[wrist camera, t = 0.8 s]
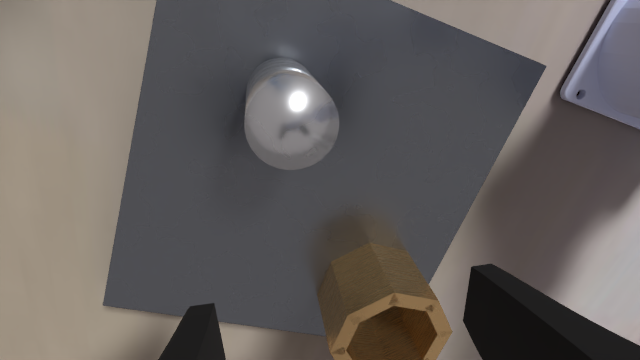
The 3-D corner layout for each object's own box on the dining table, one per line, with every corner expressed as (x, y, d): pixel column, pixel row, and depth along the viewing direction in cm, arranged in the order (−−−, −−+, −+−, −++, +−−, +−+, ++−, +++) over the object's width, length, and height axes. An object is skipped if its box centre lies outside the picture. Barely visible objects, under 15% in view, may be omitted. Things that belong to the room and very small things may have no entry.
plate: (526, 61, 19) (644, 86, 14) (387, 327, 26) (428, 423, 20) (180, -83, 15) (133, -140, 9) (112, 285, 21) (58, 394, 15)
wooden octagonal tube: (432, 256, 22) (467, 306, 18) (393, 330, 24) (418, 388, 20) (341, 236, 20) (361, 286, 17) (307, 317, 22) (318, 377, 18)
